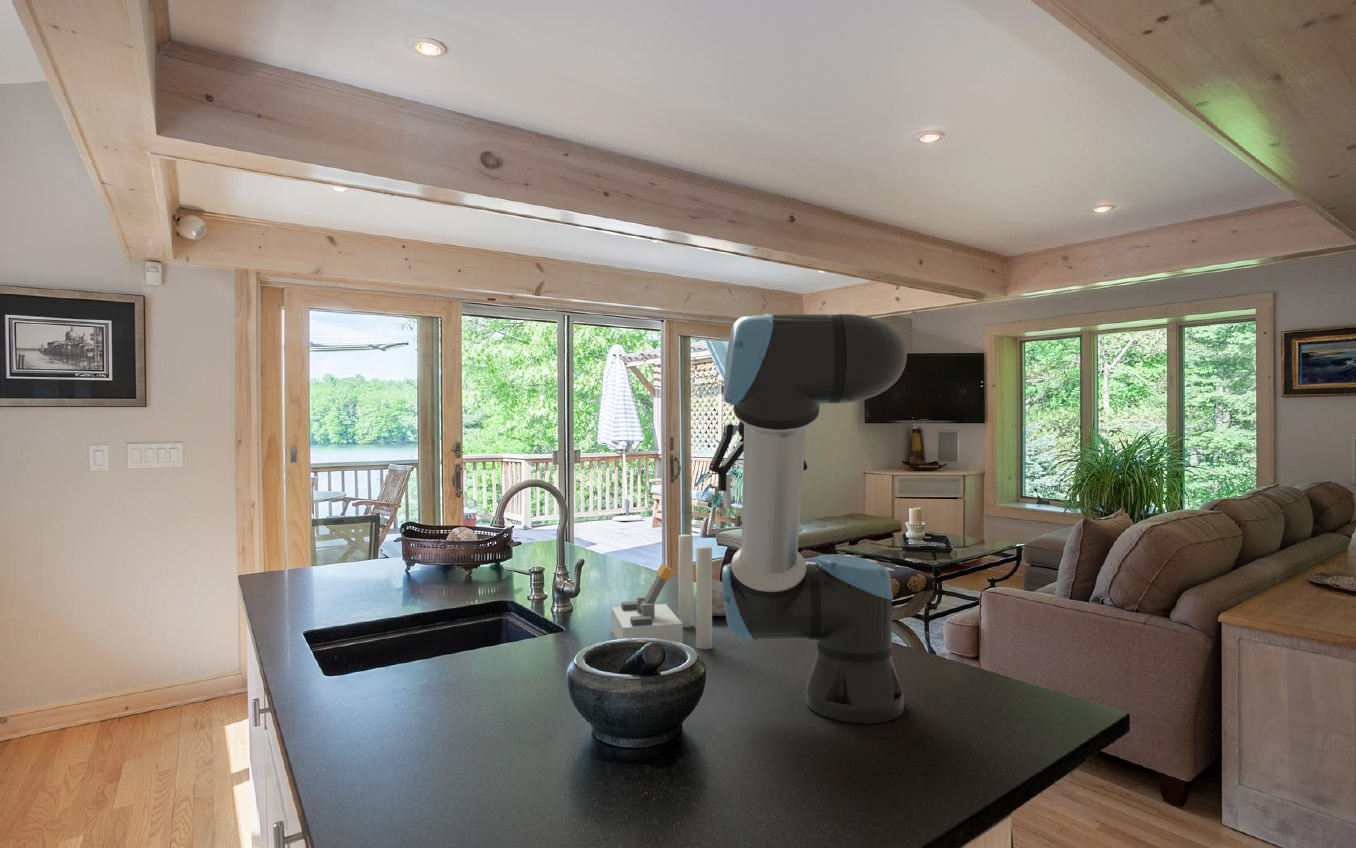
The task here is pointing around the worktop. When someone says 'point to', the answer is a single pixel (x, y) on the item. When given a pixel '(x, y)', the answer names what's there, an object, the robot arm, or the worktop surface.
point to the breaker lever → (657, 584)
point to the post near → (704, 597)
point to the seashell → (717, 598)
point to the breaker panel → (646, 621)
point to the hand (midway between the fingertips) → (758, 507)
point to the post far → (685, 579)
